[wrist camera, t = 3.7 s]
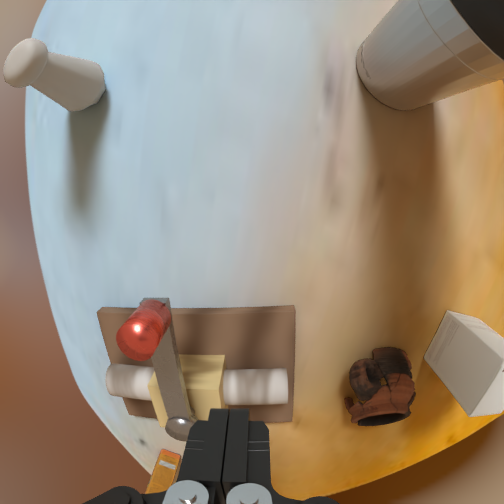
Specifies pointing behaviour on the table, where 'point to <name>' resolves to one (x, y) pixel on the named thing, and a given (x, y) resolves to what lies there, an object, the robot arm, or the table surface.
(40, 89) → the salt shaker
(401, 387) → the pottery mug
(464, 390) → the supplement box
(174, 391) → the valve lever
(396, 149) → the table surface
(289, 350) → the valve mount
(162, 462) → the supplement box
